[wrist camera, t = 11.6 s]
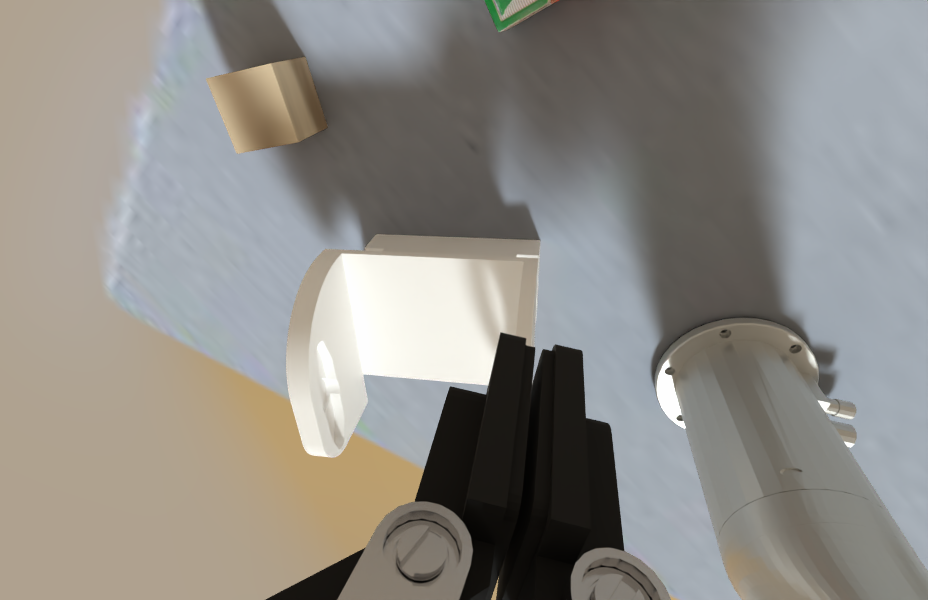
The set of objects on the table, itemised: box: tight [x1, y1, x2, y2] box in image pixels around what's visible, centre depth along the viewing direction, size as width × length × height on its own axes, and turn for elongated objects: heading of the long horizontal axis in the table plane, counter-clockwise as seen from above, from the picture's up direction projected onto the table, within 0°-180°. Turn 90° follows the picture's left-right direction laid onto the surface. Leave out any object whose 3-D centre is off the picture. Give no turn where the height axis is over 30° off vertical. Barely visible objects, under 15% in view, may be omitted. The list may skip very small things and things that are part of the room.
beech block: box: [206, 57, 328, 154], centre depth 35 cm, size 5×5×5 cm
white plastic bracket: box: [286, 234, 540, 458], centre depth 35 cm, size 14×13×18 cm
